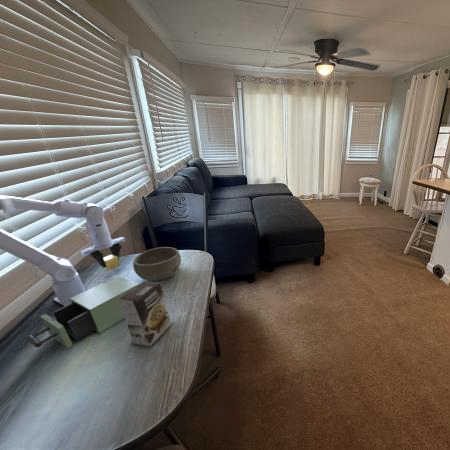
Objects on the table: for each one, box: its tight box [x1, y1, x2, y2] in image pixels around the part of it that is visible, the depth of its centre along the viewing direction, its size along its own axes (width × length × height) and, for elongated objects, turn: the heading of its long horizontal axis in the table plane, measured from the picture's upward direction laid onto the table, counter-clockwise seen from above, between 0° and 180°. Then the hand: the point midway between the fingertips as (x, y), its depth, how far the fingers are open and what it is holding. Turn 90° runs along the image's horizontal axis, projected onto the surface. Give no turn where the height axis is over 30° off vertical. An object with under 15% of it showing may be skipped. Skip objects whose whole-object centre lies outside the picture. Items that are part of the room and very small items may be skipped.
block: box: [101, 254, 121, 271], centre depth 98 cm, size 4×4×4 cm
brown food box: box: [119, 280, 172, 347], centre depth 72 cm, size 9×6×16 cm
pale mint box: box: [70, 275, 140, 333], centre depth 82 cm, size 15×13×9 cm
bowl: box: [132, 246, 182, 282], centre depth 104 cm, size 17×18×10 cm
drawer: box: [26, 302, 97, 349], centre depth 73 cm, size 18×11×7 cm, turn 154°
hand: (110, 264), depth 99 cm, fingers closed on block, 4 cm apart
